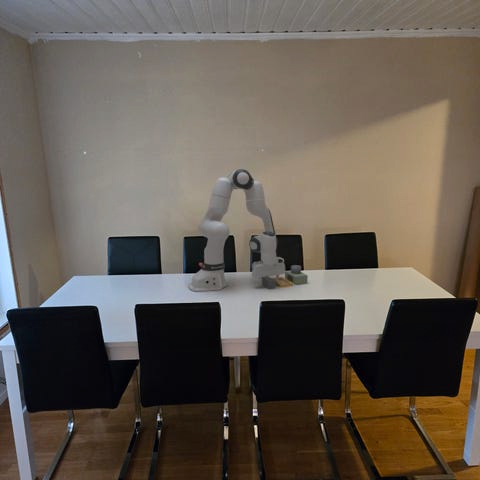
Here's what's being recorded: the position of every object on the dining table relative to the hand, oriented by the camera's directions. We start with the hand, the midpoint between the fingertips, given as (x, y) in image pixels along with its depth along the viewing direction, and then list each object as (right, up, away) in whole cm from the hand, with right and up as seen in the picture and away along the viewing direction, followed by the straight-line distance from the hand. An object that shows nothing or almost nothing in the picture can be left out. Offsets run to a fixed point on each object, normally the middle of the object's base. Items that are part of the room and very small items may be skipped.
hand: (268, 283), depth 223 cm
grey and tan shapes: (+12, 0, +7) cm, 14 cm away
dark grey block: (0, -2, 0) cm, 2 cm away
